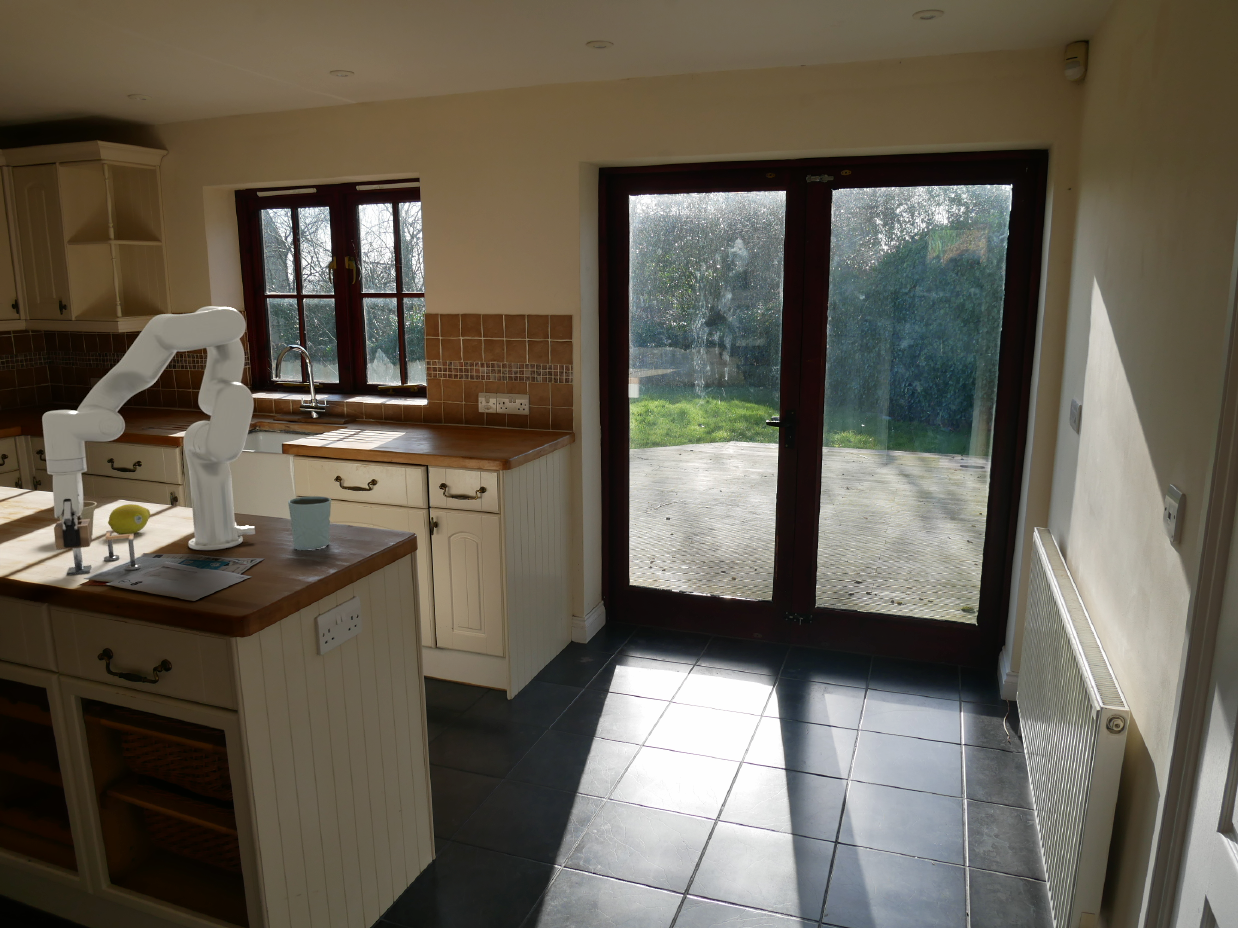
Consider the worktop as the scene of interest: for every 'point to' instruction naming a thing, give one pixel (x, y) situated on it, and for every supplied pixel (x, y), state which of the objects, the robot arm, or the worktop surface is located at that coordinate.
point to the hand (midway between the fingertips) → (74, 542)
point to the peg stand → (78, 564)
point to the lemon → (128, 519)
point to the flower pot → (87, 512)
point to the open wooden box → (84, 534)
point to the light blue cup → (310, 521)
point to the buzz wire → (116, 557)
